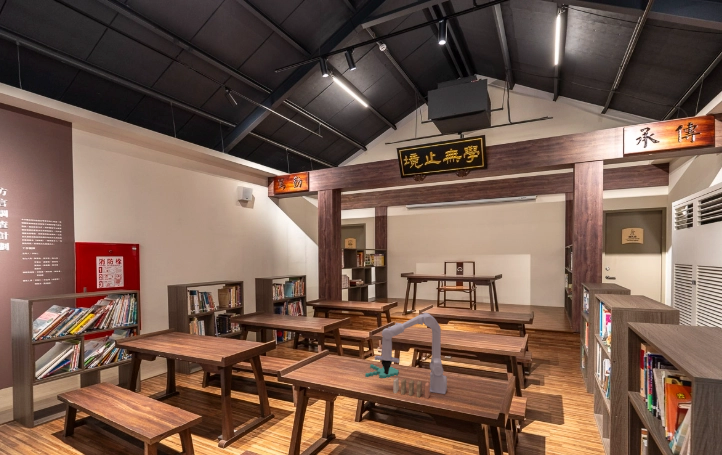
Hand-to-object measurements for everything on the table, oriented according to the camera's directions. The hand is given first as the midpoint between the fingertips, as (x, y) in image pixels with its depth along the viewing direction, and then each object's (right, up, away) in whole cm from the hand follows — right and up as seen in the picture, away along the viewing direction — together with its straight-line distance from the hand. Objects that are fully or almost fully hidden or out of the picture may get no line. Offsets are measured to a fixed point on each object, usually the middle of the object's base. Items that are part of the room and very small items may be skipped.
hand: (386, 373), depth 207 cm
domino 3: (+18, -9, -8) cm, 21 cm away
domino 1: (+9, -9, -4) cm, 14 cm away
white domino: (+5, -9, -3) cm, 11 cm away
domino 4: (+22, -9, -10) cm, 25 cm away
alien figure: (0, -12, +29) cm, 31 cm away
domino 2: (+14, -9, -6) cm, 17 cm away
